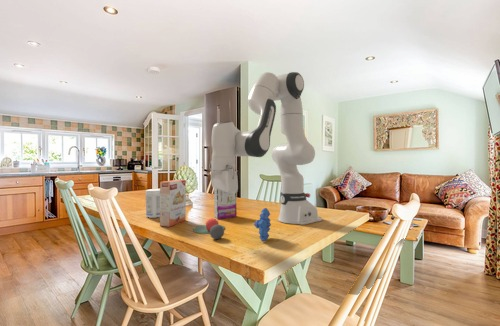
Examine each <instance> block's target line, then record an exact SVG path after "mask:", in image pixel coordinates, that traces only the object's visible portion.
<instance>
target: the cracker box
mask: <svg viewBox="0 0 500 326" xmlns="http://www.w3.org/2000/svg"><path fill="white" fill-rule="evenodd" d="M186 183H187V181H186V180H185V179H173V180H166V181H160V182H159V189H160V217H159V226H160V227H167V228H170V227H173V226H175V225H177V224H180V223H183V222H185V221H186V205H187V204H186V198H187V197H186V194H187V193H186V192H187V191H186V189H187V188H186V187H187V184H186Z"/></svg>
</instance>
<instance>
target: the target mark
mask: <svg viewBox="0 0 500 326" xmlns="http://www.w3.org/2000/svg"><path fill="white" fill-rule="evenodd" d="M220 225H221V224H220ZM221 226H222V227H223V229H224V231H225V229H226V227H225V226H224V225H221ZM192 231H193V232H195V233H196V234H204V235H205V234H209V235H210V231H208V230H207V228H206V224H201V225H199V226H196V227H193V229H192Z"/></svg>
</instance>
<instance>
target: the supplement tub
mask: <svg viewBox="0 0 500 326" xmlns="http://www.w3.org/2000/svg"><path fill="white" fill-rule="evenodd" d="M145 215H146V218H148V217H149V218H148V219H156V218H157V217H158V218H160V188H150V189H146V190H145ZM158 218H157V219H158Z"/></svg>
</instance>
